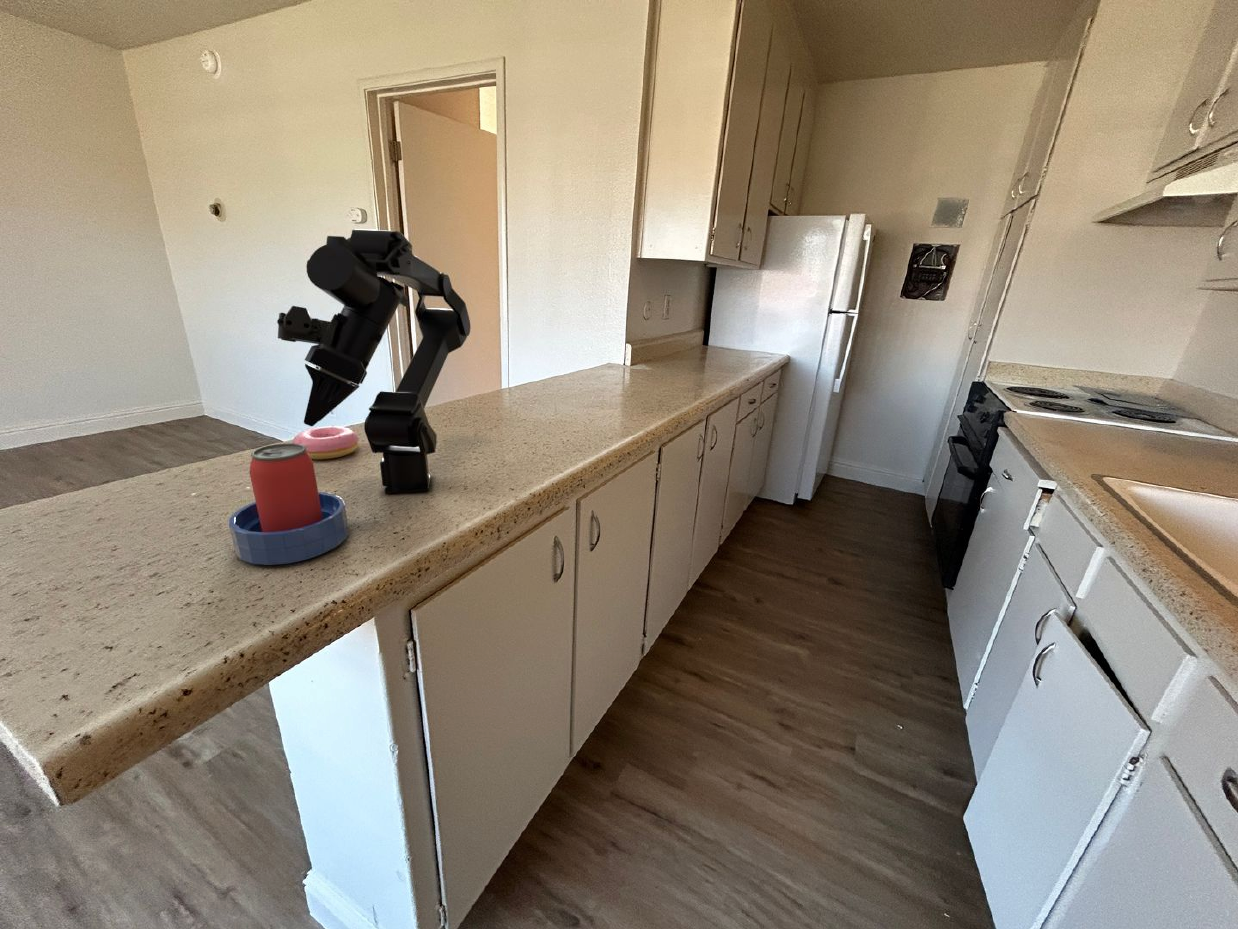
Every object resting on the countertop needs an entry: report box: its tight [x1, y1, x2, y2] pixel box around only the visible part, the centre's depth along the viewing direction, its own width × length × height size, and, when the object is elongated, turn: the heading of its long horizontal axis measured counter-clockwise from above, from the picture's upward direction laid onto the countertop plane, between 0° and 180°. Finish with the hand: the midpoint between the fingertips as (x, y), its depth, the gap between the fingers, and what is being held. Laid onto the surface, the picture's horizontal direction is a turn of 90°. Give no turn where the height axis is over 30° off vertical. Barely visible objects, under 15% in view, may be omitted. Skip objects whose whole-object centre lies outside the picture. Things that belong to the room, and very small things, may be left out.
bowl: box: [228, 491, 350, 566], centre depth 64 cm, size 12×12×4 cm
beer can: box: [249, 442, 323, 532], centre depth 63 cm, size 7×7×12 cm
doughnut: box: [292, 425, 360, 460], centre depth 96 cm, size 11×11×4 cm
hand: (311, 422), depth 68 cm, fingers open, 9 cm apart
